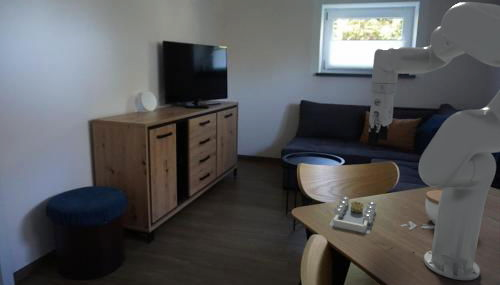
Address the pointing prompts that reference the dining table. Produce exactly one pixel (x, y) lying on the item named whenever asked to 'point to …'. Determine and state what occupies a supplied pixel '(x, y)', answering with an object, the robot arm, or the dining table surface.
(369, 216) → the spacers
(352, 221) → the board
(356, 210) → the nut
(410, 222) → the pliers
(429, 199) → the lidded bowl
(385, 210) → the dining table surface
